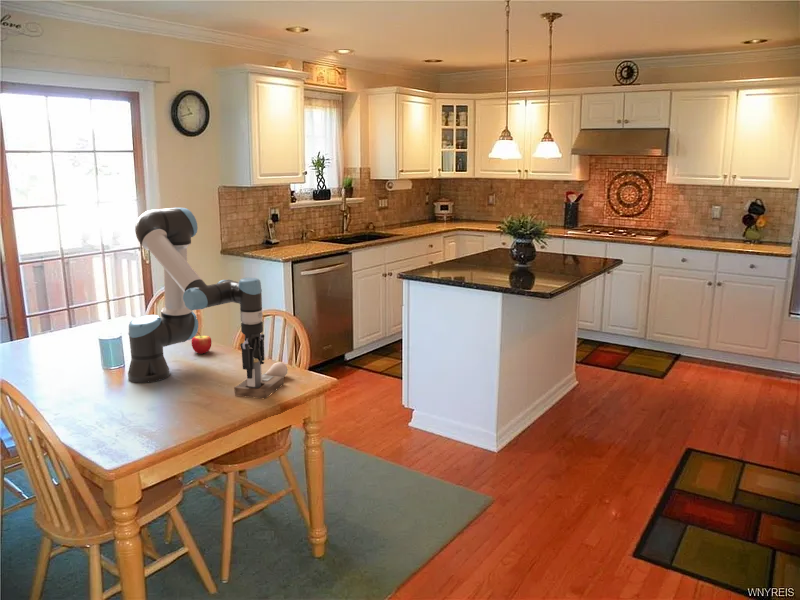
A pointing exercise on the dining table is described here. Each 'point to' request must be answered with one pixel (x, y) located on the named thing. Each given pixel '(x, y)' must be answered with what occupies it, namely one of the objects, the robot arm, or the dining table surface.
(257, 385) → the plug
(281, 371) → the light bulb
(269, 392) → the wooden socket board
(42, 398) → the dining table surface
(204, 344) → the apple
